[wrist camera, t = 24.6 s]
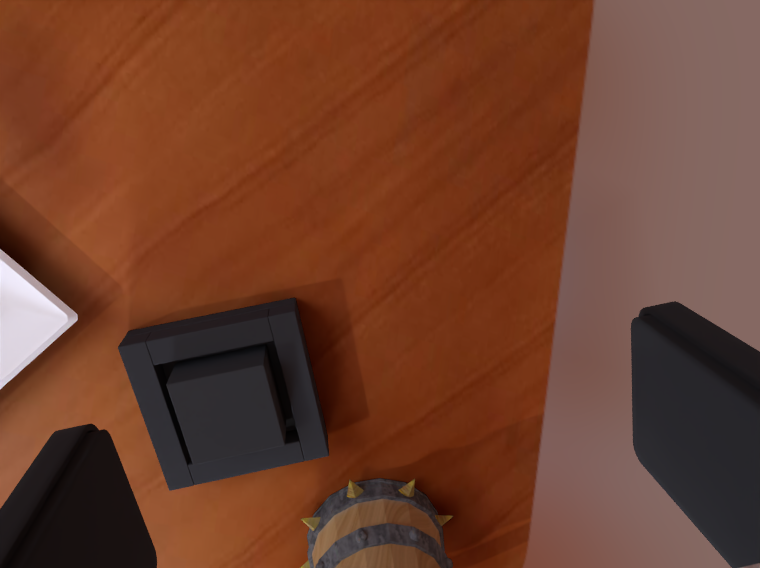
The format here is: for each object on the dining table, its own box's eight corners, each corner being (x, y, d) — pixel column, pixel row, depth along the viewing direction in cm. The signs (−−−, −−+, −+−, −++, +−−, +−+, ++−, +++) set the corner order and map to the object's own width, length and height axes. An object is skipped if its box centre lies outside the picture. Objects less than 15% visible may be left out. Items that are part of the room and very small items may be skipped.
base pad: (295, 297, 39) (295, 311, 37) (327, 435, 43) (329, 456, 41) (128, 330, 38) (117, 347, 36) (176, 468, 42) (169, 491, 40)
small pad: (266, 343, 39) (263, 364, 36) (286, 420, 41) (285, 445, 38) (175, 362, 38) (165, 384, 36) (200, 438, 41) (192, 465, 38)
